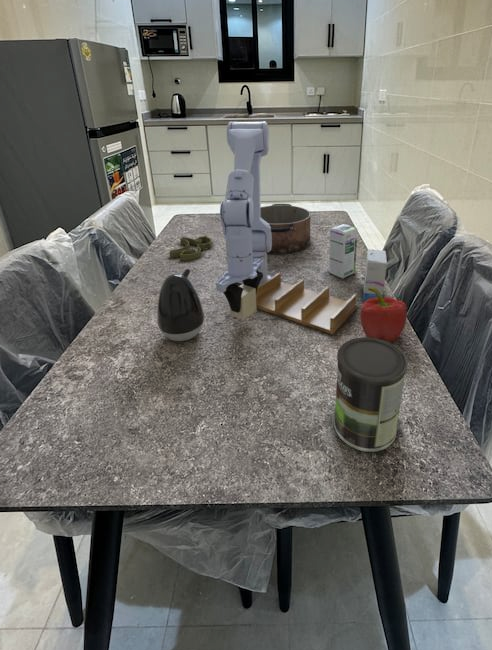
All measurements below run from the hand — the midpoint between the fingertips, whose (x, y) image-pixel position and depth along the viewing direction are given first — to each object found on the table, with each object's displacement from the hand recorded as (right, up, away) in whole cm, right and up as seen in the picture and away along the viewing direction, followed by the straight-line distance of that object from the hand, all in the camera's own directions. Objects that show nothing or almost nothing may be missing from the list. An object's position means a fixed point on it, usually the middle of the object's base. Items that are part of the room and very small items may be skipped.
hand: (243, 305), depth 90 cm
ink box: (+34, +1, +13) cm, 36 cm away
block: (0, -2, +1) cm, 2 cm away
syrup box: (+27, +6, +26) cm, 38 cm away
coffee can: (+23, -17, -26) cm, 39 cm away
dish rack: (+14, -1, +8) cm, 17 cm away
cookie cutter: (-22, +14, +44) cm, 51 cm away
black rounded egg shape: (-14, -6, -2) cm, 15 cm away
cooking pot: (+8, +17, +50) cm, 53 cm away
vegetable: (+31, -6, -3) cm, 32 cm away
